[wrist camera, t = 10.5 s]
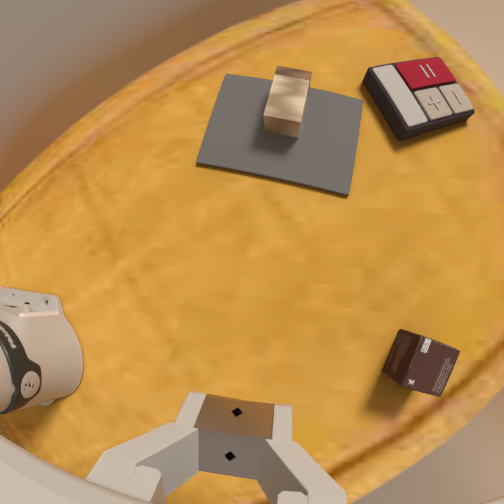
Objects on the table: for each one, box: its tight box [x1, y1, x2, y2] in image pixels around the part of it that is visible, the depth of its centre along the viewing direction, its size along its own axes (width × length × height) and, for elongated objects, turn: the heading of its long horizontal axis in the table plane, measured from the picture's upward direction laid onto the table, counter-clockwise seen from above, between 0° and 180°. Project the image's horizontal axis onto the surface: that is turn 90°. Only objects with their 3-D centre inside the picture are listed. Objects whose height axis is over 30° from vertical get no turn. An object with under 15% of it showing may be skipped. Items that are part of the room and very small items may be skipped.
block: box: [263, 66, 311, 138], centre depth 39 cm, size 4×4×8 cm
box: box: [383, 329, 460, 397], centre depth 34 cm, size 6×6×7 cm
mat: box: [197, 74, 363, 196], centre depth 41 cm, size 20×15×1 cm
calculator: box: [363, 57, 475, 141], centre depth 39 cm, size 11×4×15 cm
